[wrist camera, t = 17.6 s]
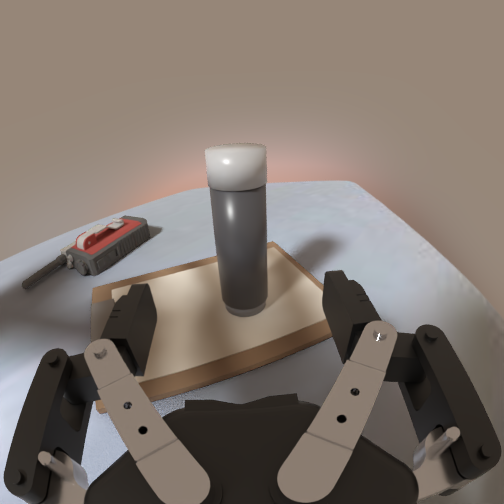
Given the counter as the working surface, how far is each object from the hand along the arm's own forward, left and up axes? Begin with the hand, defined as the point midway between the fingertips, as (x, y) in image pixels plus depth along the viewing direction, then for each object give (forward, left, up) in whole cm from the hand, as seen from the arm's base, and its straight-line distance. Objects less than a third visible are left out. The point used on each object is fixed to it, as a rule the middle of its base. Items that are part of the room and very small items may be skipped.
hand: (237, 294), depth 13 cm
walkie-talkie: (-11, +27, -10) cm, 31 cm away
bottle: (+4, +9, -9) cm, 13 cm away
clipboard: (+1, +11, -9) cm, 14 cm away
